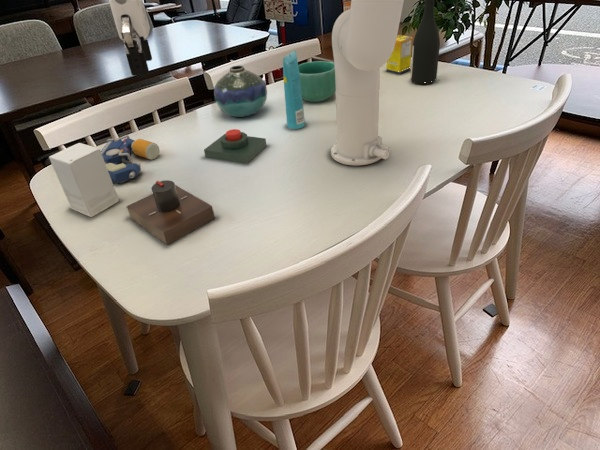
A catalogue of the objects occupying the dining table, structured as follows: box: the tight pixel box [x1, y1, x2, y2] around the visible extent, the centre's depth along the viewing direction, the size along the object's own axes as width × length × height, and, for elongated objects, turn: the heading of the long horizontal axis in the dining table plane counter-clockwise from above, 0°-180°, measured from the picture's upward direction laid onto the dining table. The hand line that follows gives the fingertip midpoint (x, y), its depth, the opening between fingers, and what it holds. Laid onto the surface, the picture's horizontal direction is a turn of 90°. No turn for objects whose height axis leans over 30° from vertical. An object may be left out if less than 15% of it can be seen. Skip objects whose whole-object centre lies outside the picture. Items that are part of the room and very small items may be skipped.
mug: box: [298, 60, 336, 103], centre depth 139 cm, size 17×13×10 cm
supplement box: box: [386, 34, 413, 75], centre depth 153 cm, size 6×6×11 cm
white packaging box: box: [48, 142, 120, 218], centre depth 94 cm, size 7×7×13 cm
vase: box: [213, 65, 268, 118], centre depth 131 cm, size 15×15×13 cm
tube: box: [282, 49, 306, 130], centre depth 119 cm, size 7×5×19 cm, turn 162°
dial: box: [150, 179, 180, 212], centre depth 88 cm, size 4×4×5 cm
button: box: [225, 128, 242, 141], centre depth 111 cm, size 4×4×2 cm
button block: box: [203, 131, 268, 165], centre depth 113 cm, size 12×10×4 cm
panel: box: [126, 184, 216, 246], centre depth 90 cm, size 14×11×3 cm
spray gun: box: [100, 134, 160, 184], centre depth 111 cm, size 21×4×15 cm
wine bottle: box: [410, 0, 441, 86], centre depth 137 cm, size 8×8×30 cm
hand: (142, 67), depth 90 cm, fingers open, 9 cm apart
